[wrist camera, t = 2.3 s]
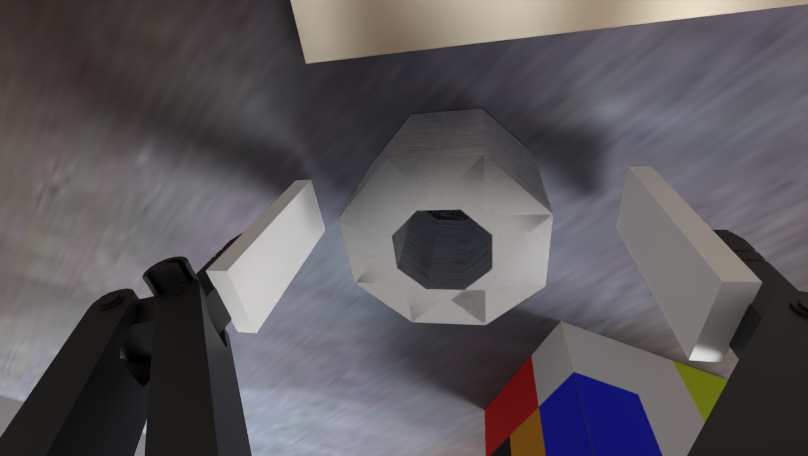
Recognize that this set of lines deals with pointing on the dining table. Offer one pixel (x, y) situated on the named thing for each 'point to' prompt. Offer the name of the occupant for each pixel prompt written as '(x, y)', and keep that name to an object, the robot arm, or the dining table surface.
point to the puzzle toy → (599, 401)
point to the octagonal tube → (450, 221)
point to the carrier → (477, 21)
